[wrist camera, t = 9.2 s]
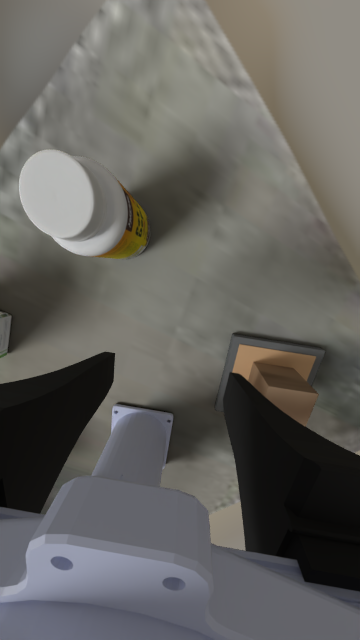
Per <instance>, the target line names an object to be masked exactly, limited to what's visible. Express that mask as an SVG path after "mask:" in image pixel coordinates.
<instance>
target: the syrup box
mask: <svg viewBox="0 0 360 640" xmlns="http://www.w3.org/2000/svg"><path fill="white" fill-rule="evenodd" d="M11 317H12V316H11V315H10V314H8V313H5V312H2V311H0V358H1V357H4V356H5V355H7V352H8V344H9V336H10V326H11Z"/></svg>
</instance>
